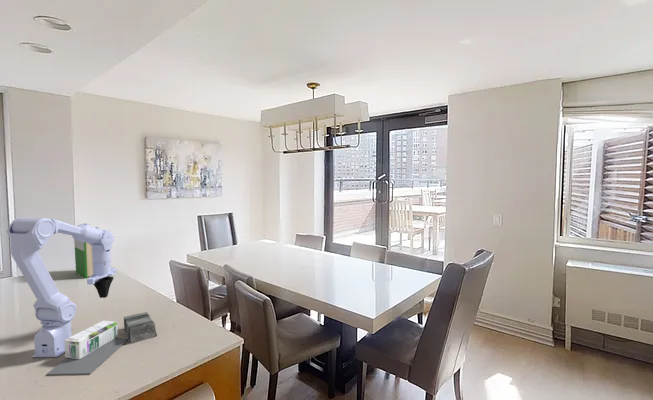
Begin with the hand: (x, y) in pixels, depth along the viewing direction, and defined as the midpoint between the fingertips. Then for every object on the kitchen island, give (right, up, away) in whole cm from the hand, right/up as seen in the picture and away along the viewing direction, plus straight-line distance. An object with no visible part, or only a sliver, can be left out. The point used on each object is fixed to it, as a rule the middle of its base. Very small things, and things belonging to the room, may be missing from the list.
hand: (103, 297), depth 127 cm
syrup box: (+9, -8, -10) cm, 16 cm away
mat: (+11, -12, -21) cm, 27 cm away
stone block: (+17, -11, -6) cm, 22 cm away
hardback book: (-51, -6, +64) cm, 82 cm away
